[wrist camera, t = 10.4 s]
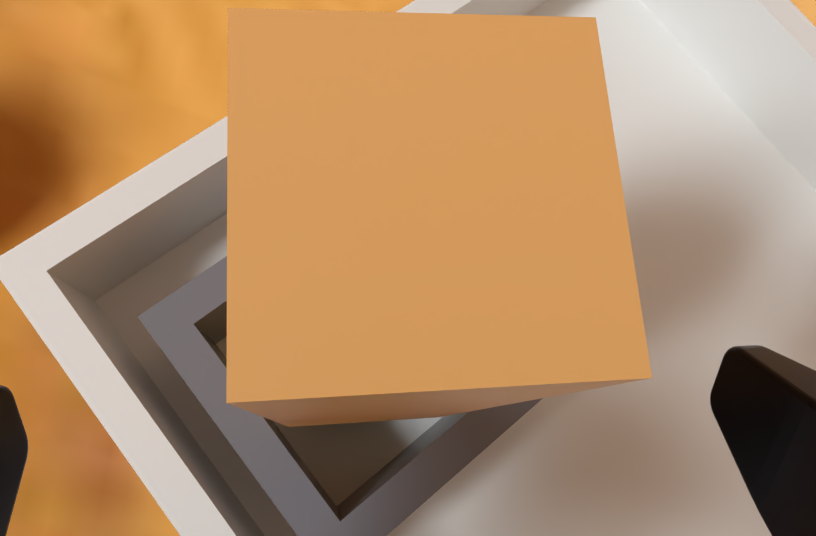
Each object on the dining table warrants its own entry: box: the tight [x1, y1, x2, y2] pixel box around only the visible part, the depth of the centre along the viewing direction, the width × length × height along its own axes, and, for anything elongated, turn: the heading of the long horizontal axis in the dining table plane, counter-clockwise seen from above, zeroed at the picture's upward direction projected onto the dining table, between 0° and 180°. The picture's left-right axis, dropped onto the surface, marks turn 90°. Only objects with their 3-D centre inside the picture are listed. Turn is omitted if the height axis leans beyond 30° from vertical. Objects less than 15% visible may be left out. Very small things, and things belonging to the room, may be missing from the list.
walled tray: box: [0, 0, 816, 536], centre depth 16 cm, size 24×20×4 cm
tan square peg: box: [226, 8, 652, 427], centre depth 11 cm, size 3×3×12 cm
